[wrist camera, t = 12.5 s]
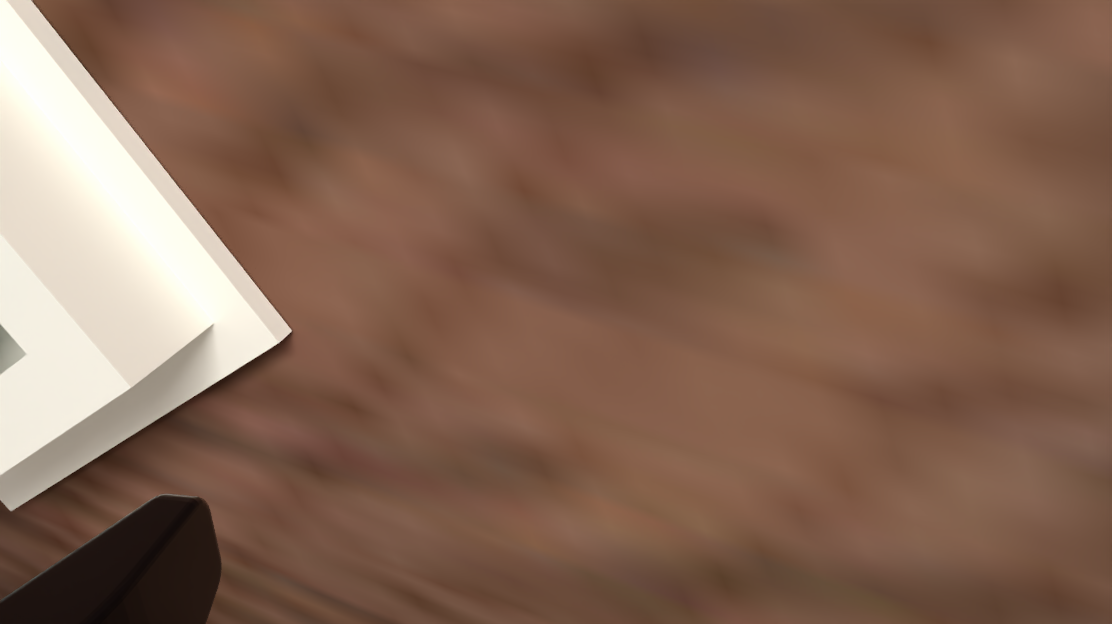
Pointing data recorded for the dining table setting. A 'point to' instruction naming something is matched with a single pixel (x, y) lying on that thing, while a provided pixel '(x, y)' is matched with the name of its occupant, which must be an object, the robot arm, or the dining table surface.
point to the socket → (98, 272)
